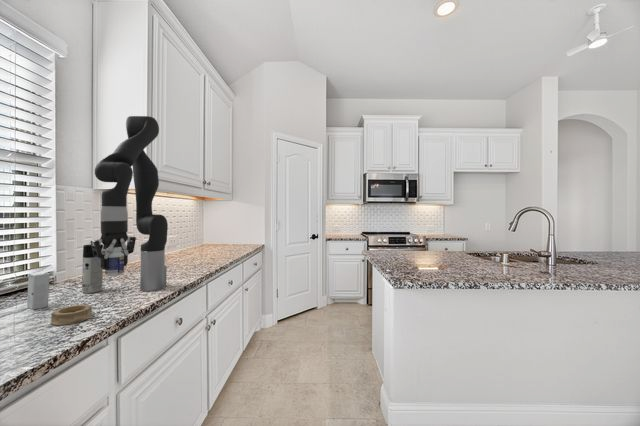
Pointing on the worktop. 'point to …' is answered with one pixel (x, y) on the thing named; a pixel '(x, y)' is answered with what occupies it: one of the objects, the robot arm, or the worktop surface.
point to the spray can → (91, 271)
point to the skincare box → (38, 290)
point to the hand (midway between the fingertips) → (114, 267)
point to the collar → (71, 314)
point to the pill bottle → (115, 262)
